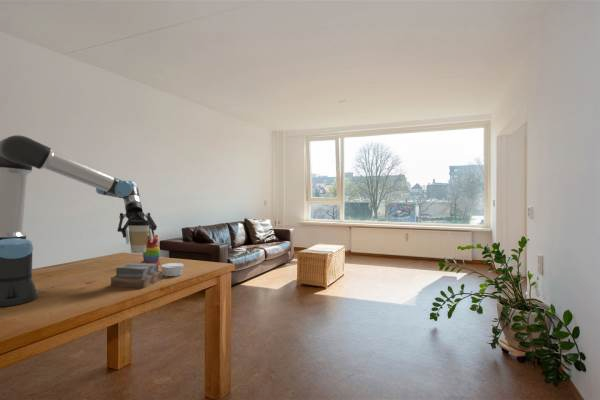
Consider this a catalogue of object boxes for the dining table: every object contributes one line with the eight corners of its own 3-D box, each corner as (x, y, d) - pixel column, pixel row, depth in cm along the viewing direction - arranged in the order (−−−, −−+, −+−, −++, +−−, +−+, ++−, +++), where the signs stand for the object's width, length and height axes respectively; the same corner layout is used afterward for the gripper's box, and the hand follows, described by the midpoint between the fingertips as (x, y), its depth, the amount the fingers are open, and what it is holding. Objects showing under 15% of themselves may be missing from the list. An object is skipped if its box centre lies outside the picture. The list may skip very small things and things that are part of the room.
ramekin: (163, 278, 168) (164, 268, 168) (158, 273, 177) (158, 264, 177) (186, 275, 175) (186, 265, 175) (180, 271, 184) (180, 262, 184)
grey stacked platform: (143, 288, 150) (143, 270, 150) (110, 286, 152) (111, 268, 152) (162, 279, 166) (162, 263, 166) (132, 277, 168) (132, 261, 168)
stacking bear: (157, 262, 206) (158, 233, 206) (163, 264, 198) (163, 235, 198) (139, 264, 199) (139, 234, 199) (143, 267, 191) (144, 236, 191)
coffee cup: (141, 249, 166) (142, 219, 166) (154, 251, 161) (154, 220, 160) (122, 252, 157) (123, 220, 157) (135, 254, 152) (135, 221, 152)
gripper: (155, 211, 178) (163, 244, 166) (107, 211, 164) (112, 248, 152) (158, 201, 173) (166, 235, 161) (109, 201, 160) (114, 238, 147)
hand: (140, 241), depth 157 cm, fingers closed on coffee cup, 10 cm apart
